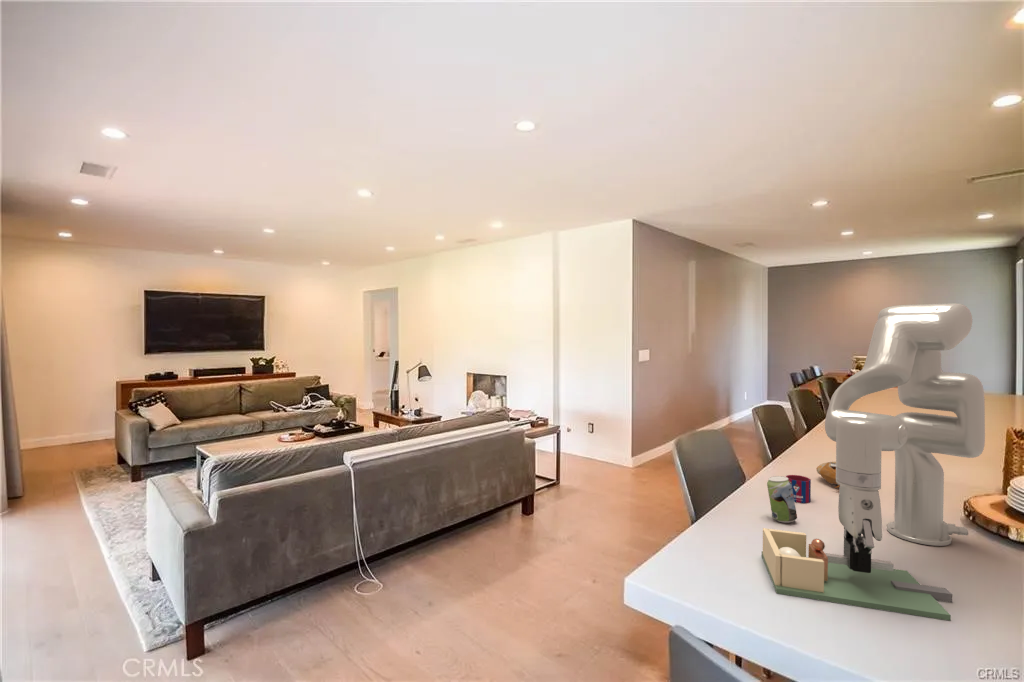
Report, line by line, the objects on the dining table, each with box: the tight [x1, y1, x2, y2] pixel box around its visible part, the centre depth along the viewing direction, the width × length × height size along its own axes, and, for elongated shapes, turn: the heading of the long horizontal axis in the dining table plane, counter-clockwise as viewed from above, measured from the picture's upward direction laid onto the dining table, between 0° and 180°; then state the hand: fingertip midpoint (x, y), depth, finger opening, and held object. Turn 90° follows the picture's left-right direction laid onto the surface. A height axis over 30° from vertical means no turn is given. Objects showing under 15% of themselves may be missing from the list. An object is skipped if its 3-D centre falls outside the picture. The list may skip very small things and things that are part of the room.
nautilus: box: [816, 461, 840, 493], centre depth 160 cm, size 8×22×15 cm
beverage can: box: [766, 475, 798, 524], centre depth 131 cm, size 6×7×12 cm
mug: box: [785, 474, 812, 504], centre depth 149 cm, size 7×10×7 cm
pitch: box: [761, 527, 953, 621], centre depth 98 cm, size 32×17×7 cm, turn 71°
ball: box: [779, 547, 801, 557], centre depth 101 cm, size 5×5×5 cm
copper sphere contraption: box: [808, 537, 895, 581], centre depth 98 cm, size 14×6×8 cm, turn 71°
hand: (856, 565), depth 97 cm, fingers closed on copper sphere contraption, 3 cm apart
